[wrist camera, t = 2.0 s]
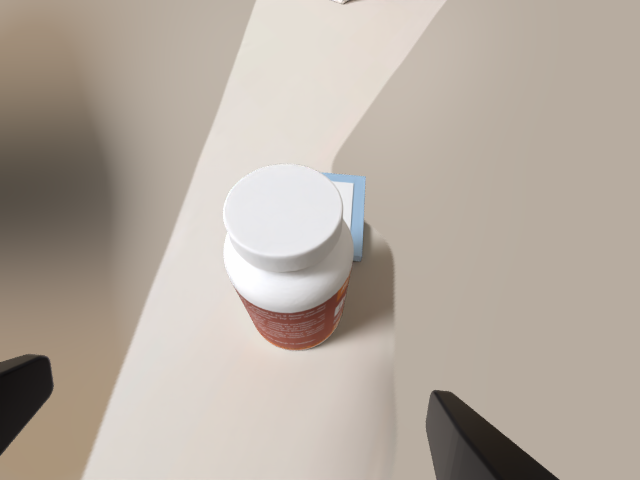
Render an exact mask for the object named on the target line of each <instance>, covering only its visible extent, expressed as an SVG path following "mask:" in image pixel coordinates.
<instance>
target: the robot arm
mask: <svg viewBox="0 0 640 480" xmlns="http://www.w3.org/2000/svg"><path fill="white" fill-rule="evenodd" d="M53 387H54V385H53V377H52V370H51V363H50V360H49V358H48V357H47V356H44V355H35V354H26V355H23V356H19V357H16V358H13V359H9V360H6V361H3V362H0V456H1V454H2V453H3V452H4V451H5V450H6V448H7V447H8V446H9V445H10V443H11V442H12V441H13V440H14V439H15V438H16V436H17V435H18V434H19V433H20V432H21V430H22V429H23V428H24V427H25V426H26V424H27V423H28V422H29V421H30V419H32V417H33V416H34V415H35V414H36V412H37V411H38V410H39V409H40V408H41V406H42V405H43V404H44V403H45V402H46V401H47V399H48V398H49V397H50V395H51V393H52V391H53ZM426 432H427V437H428V441H429V446H430V451H431V455H432V460H433V465H434V470H435V474H436V479H437V480H559V479H558V478H557V477H555V476H554V475H553V474H552V473H550V472H549V471H548V470H547V469H546V468H544V467H543V466H542V465H540V464H539V463H538V462H537V461H536V460H534V459H533V458H532V457H531V456H530V455H528V454H527V453H526V452H524V451H523V450H522V449H521V448H520V447H518V446H517V445H516V444H515V443H513V442H512V441H511V440H510V439H509V438H507V437H506V436H505V435H503V434H502V433H501V432H500V431H499V430H497V429H496V428H495V427H494V426H493V425H491V424H490V423H489V422H488V421H486V420H485V419H484V418H483V417H481V416H480V415H479V414H478V413H477V412H475V411H474V410H473V409H472V408H470V407H469V406H468V405H467V404H465V403H464V402H463V401H462V400H460V399H459V398H458V397H457V396H455V395H454V394H453V393H451V392H449V391H439V390H434V391H432V393H431V395H430V400H429V405H428V411H427V418H426Z"/></svg>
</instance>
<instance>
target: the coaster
mask: <svg viewBox="0 0 640 480" xmlns="http://www.w3.org/2000/svg"><path fill="white" fill-rule="evenodd" d="M322 174H323V175H325V176H326V177H328V178H329V179H330V180H331V181H332V182H333V183H334V185H335V186H336V187H337V189H338V191H339V193H340V195H341V198H342V202H343V219H344V221H345V222H346V224H347V226H348V227H349V230H350V232H351V235H352V239H353V245H354V255H353V261H360V262H361V258H362V246H363V223H364V200H365V177H364V176H353V175H342V174H332V173H322Z"/></svg>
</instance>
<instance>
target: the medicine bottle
mask: <svg viewBox="0 0 640 480" xmlns="http://www.w3.org/2000/svg"><path fill="white" fill-rule="evenodd" d="M331 1H334V2H337V3H340V4H344V3H345V2H347V1H349V0H331Z"/></svg>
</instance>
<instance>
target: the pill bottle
mask: <svg viewBox="0 0 640 480" xmlns="http://www.w3.org/2000/svg"><path fill="white" fill-rule="evenodd" d="M223 218H224V224H225V227H226V230H227V232H228V233H227V236H226V239H225V244H224V263H225V267H226V271H227V273H228V276H229V278H230V280H231V282H232V284H233V286H234V288H235V290H236V291H237V293H238V295H239V297H240V299H241V300H242V302H243V304H244V306H245V308H246V310H247V311H248V313H249V315H250V317H251V319H252V321H253V323H254V325H255V327H256V328H257V330H258V331H259V333H260V334H261V335H262V336H263V337H264V338H265V339H266V340H267V341H268V342H269V343H271V344H273V345H274V346H276V347H279V348H281V349H285V350H290V351H301V350H306V349H310V348H313V347H315V346H317V345H319V344H321V343H322V342H324V341H325V340H326V339H327V338H328V337H329V336H330V335H331V334H332V333H333V332H334V330H335V329H336V327H337V326H338V323H339V321H340V319H341V316H342V312H343V307H344V302H345V297H346V292H347V287H348V282H349V278H350V273H351V269H352V264H353V255H354V245H353V239H352V235H351V232H350V230H349V227H348V226H347V224H346V222H345V221H344V219H343V202H342V198H341V195H340V193H339V191H338V189H337V187H336V186H335V185H334V183H333V182H332V181H331V180H330V179H329V178H328V177H326V176H325V175H323V174H322V173H321V172H319V171H317V170H314V169H312V168H310V167H307V166H302V165H297V164H275V165H270V166H266V167H262V168H260V169H257V170H255V171H253V172H251V173H249V174H248V175H246V176H244V177H243V178H242V179H240V180H239V181H238V182H237V183H236V184H235V185H234V186H233V188H232V189H231V190H230V192H229V194H228V196H227V198H226V200H225V203H224V209H223Z"/></svg>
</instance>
